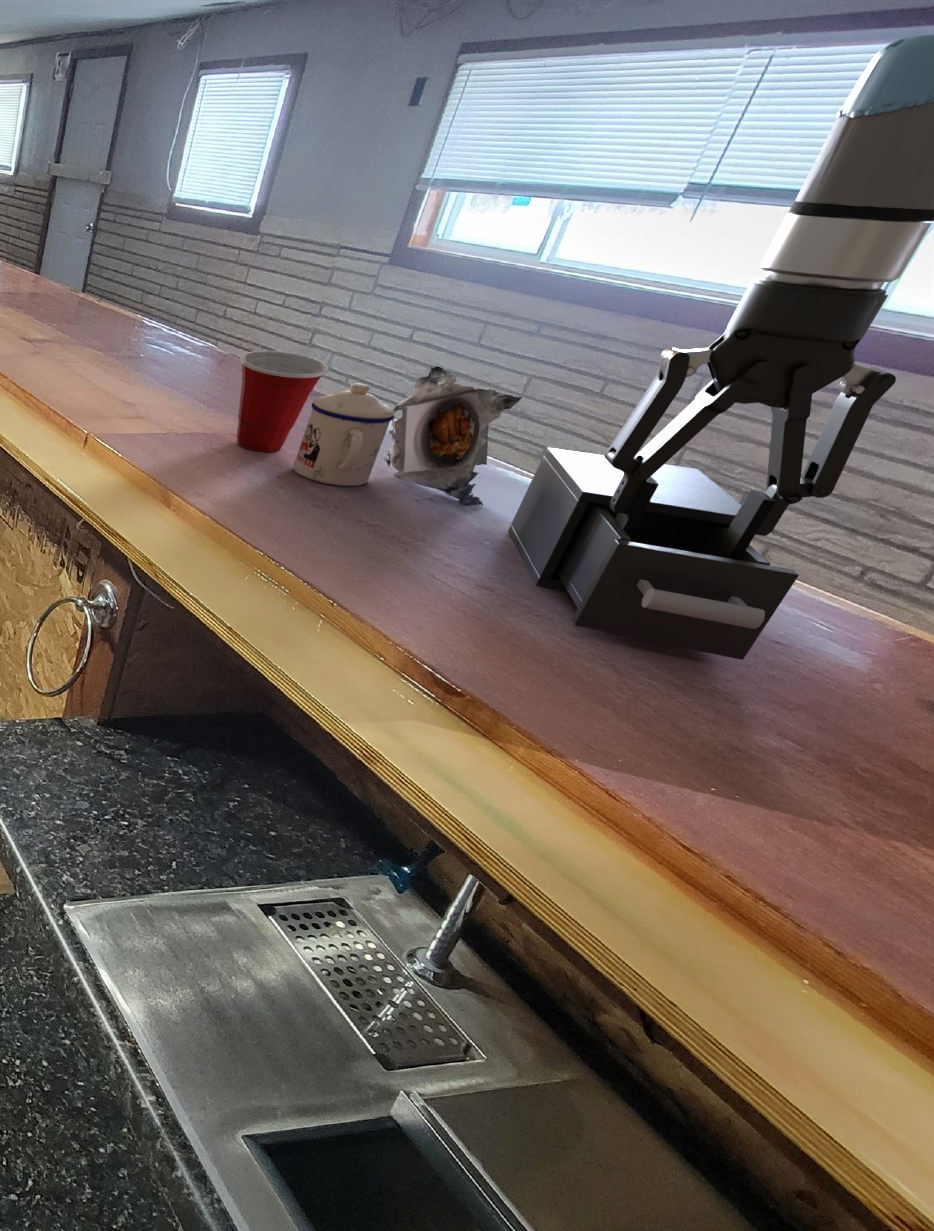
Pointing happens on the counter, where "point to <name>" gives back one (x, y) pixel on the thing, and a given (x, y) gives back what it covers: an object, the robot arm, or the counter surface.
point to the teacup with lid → (343, 437)
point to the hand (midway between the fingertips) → (665, 556)
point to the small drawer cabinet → (591, 478)
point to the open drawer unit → (669, 583)
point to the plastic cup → (273, 396)
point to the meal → (444, 433)
